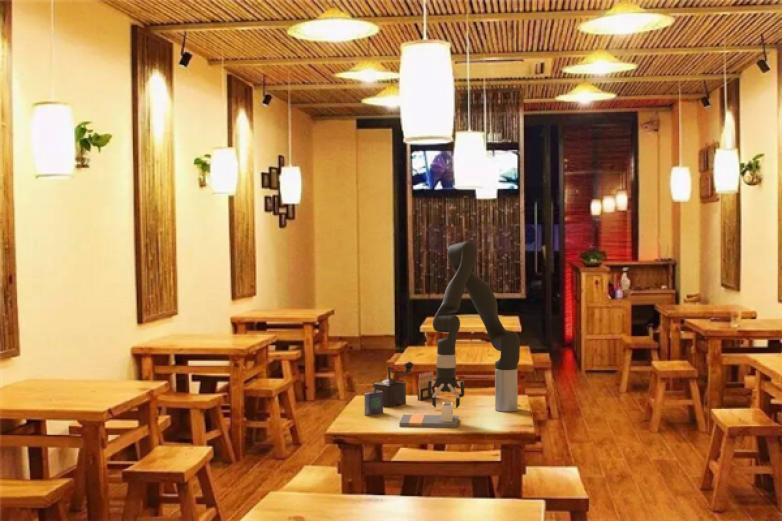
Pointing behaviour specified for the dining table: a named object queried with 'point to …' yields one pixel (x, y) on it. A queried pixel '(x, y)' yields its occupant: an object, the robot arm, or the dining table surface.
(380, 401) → the flask
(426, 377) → the ammunition clip
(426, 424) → the board
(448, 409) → the block
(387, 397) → the black coffee grinder
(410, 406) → the dining table surface
